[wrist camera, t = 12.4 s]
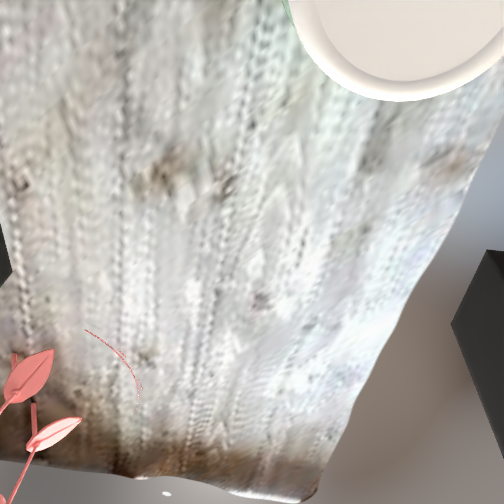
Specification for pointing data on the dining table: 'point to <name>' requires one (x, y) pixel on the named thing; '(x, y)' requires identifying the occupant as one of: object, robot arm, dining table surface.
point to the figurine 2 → (26, 385)
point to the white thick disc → (401, 43)
